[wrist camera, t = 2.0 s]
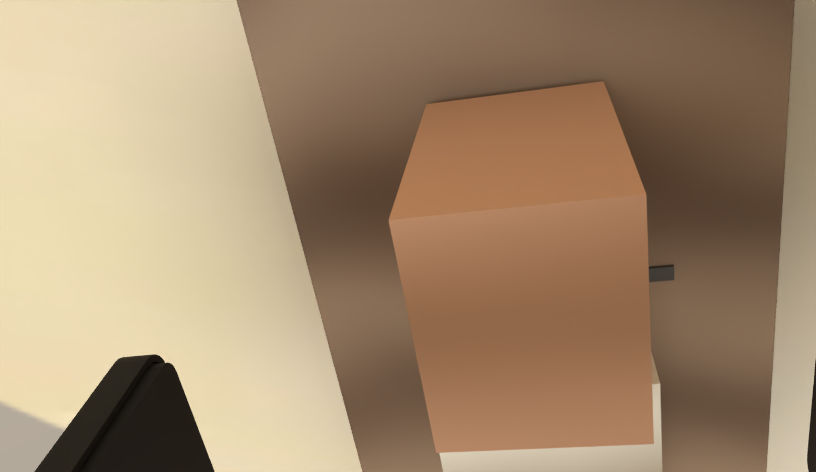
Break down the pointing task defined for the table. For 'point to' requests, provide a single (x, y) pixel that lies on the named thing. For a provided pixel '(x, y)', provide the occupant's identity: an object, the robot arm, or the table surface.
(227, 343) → the table surface
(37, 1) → the table surface
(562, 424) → the stub
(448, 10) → the ticket board
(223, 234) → the table surface
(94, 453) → the robot arm
